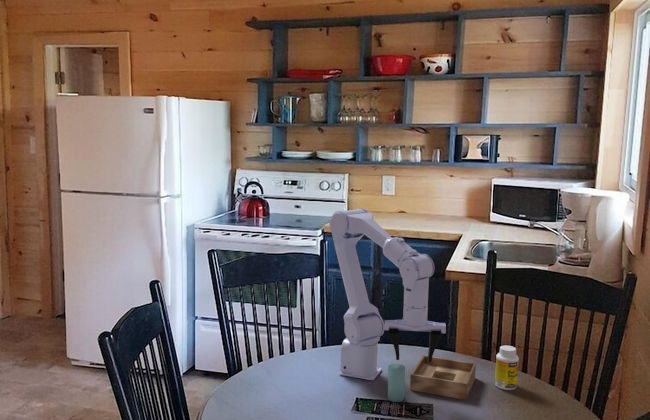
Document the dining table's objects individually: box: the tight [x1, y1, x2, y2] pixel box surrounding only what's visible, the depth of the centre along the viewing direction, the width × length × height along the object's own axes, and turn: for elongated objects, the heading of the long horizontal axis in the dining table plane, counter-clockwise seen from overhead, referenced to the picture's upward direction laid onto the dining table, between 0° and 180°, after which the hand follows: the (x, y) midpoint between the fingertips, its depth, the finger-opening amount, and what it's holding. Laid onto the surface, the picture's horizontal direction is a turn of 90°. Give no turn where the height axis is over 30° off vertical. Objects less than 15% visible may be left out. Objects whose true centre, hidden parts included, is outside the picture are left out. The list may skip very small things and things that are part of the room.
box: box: [409, 355, 477, 401], centre depth 152 cm, size 14×14×4 cm
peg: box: [387, 363, 406, 403], centre depth 144 cm, size 4×4×8 cm
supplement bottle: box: [494, 345, 520, 391], centre depth 151 cm, size 6×6×10 cm
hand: (413, 359), depth 144 cm, fingers open, 7 cm apart
